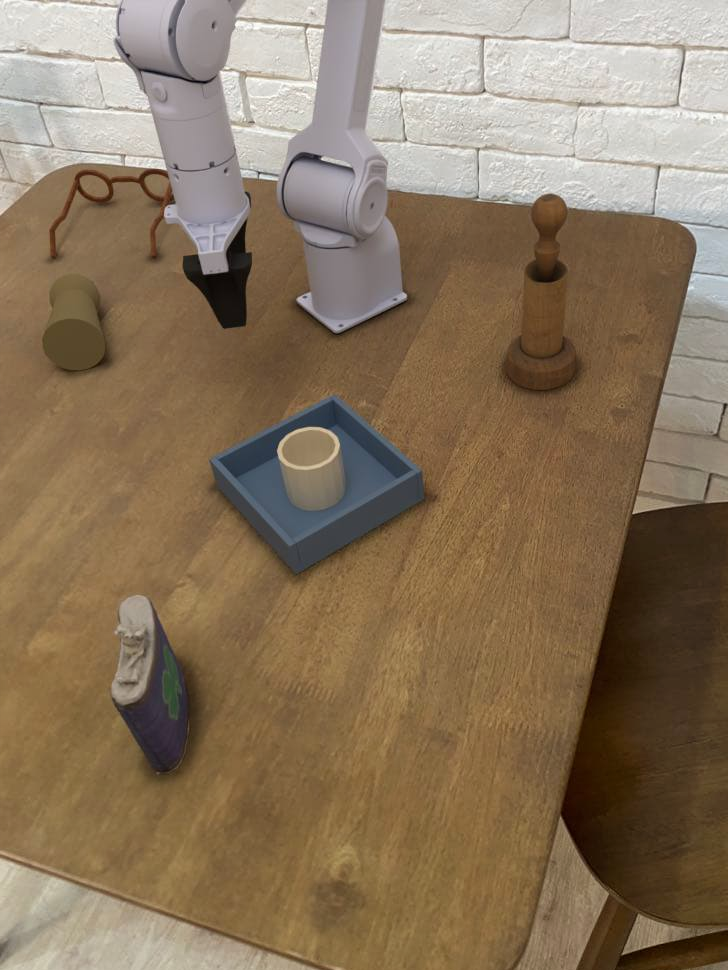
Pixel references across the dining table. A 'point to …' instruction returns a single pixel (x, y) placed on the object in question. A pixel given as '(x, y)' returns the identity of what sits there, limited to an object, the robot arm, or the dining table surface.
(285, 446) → the cream cup
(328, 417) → the tray
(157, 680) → the flask
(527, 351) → the mortar and pestle
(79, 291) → the pepper mill
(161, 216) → the glasses
